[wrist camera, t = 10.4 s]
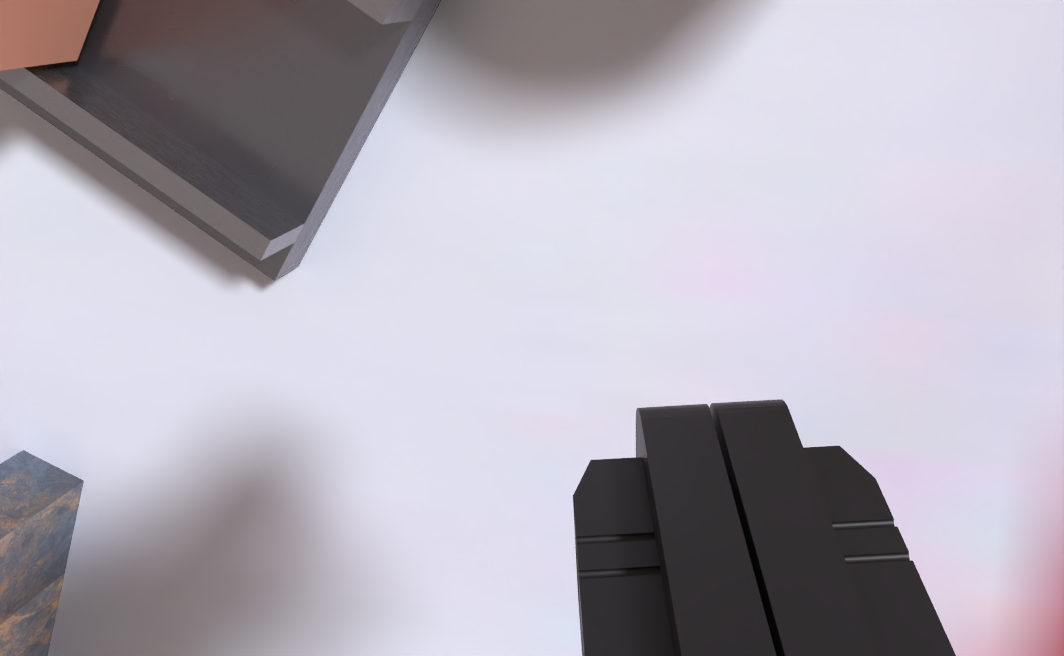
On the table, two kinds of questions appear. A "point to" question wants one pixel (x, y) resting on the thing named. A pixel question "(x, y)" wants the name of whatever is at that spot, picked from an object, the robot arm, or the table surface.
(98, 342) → the table surface
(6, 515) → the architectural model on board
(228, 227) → the rail base
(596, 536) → the robot arm
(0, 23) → the salmon pink block
